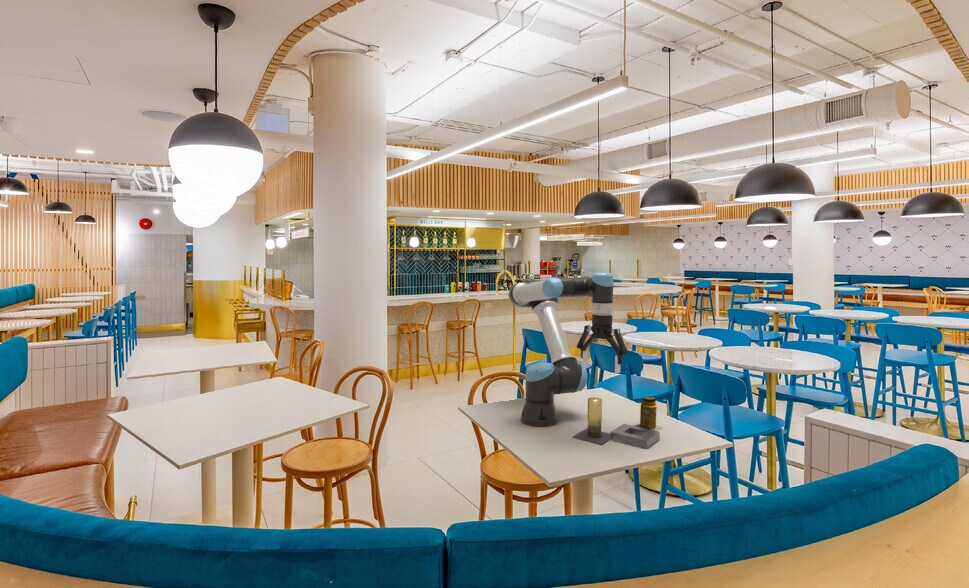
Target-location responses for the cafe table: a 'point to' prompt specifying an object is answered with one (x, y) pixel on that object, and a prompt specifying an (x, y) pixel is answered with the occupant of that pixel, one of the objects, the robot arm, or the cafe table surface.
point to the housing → (635, 436)
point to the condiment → (648, 413)
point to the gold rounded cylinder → (594, 417)
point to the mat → (600, 441)
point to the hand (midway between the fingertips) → (601, 370)
